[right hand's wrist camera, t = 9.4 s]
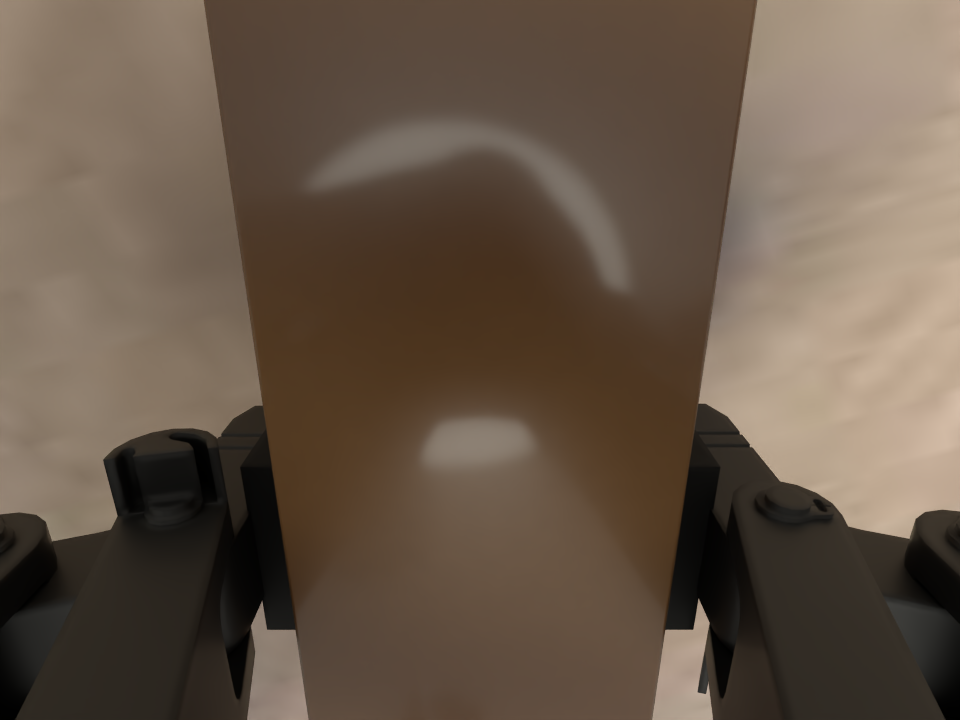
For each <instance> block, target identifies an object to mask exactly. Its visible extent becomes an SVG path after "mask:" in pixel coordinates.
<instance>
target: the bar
mask: <svg viewBox="0 0 960 720" xmlns="http://www.w3.org/2000/svg"><path fill="white" fill-rule="evenodd" d="M204 4H205V11H206V18H207V25H208V32H209V39H210V46H211V52H212V59H213V66H214V73H215V80H216V87H217V94H218V100H219V107H220V114H221V121H222V128H223V135H224V142H225V148H226V155H227V162H228V169H229V176H230V183H231V190H232V197H233V203H234V210H235V217H236V224H237V231H238V238H239V245H240V251H241V258H242V265H243V272H244V279H245V286H246V293H247V299H248V306H249V313H250V320H251V327H252V334H253V341H254V347H255V354H256V361H257V368H258V375H259V382H260V389H261V395H262V402H263V409H264V416H265V423H266V430H267V437H268V444H269V450H270V457H271V464H272V471H273V478H274V485H275V492H276V498H277V505H278V512H279V519H280V526H281V533H282V540H283V546H284V553H285V560H286V567H287V574H288V581H289V588H290V594H291V601H292V608H293V615H294V622H295V629H296V636H297V642H298V649H299V656H300V663H301V670H302V677H303V684H304V691H305V697H306V704H307V711H308V718H309V720H652V716H653V709H654V703H655V696H656V689H657V682H658V675H659V668H660V662H661V655H662V648H663V641H664V634H665V627H666V621H667V614H668V607H669V600H670V593H671V586H672V580H673V573H674V566H675V559H676V552H677V545H678V538H679V532H680V525H681V518H682V511H683V504H684V497H685V491H686V484H687V477H688V470H689V463H690V456H691V450H692V443H693V436H694V429H695V422H696V415H697V409H698V402H699V395H700V388H701V381H702V374H703V368H704V361H705V354H706V347H707V340H708V333H709V327H710V320H711V313H712V306H713V299H714V292H715V286H716V279H717V272H718V265H719V258H720V251H721V245H722V238H723V231H724V224H725V217H726V210H727V204H728V197H729V190H730V183H731V176H732V169H733V163H734V156H735V149H736V142H737V135H738V128H739V122H740V115H741V108H742V101H743V94H744V87H745V81H746V74H747V67H748V60H749V53H750V46H751V40H752V33H753V26H754V19H755V12H756V5H757V0H204Z"/></svg>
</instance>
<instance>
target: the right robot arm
mask: <svg viewBox="0 0 960 720" xmlns="http://www.w3.org/2000/svg"><path fill="white" fill-rule="evenodd" d="M103 461H104V465H105V469H106V473H107V477H108V480H109V484H110V488H111V492H112V496H113V500H114V503H115V507H116V511H117V515H118V517H117V519H116V521H115V523H114V525H113V527H112V529H111V530H108V531H104V532H100V533H95V534H90V535H84V536H79V537H74V538H69V539H63V540H58V541H53V542H52V540H51V537H50V534H49V531H48V528H47V525H46V522H45V521H44V520H42V519H41V518H40V517H38V516H37V515H33V514H26V513H11V514H1V515H0V720H247V715H248V707H249V699H250V690H251V682H252V674H253V666H254V658H255V648H254V641H253V636H252V630H251V624H252V622H253V620H254V618H255V615H256V613H257V611H258V609H259V606H260V604H261V602H262V601H263V607H264V613H265V619H266V625H267V630H296V629H295V622H294V615H293V608H292V601H291V594H290V588H289V581H288V574H287V567H286V560H285V553H284V546H283V540H282V533H281V526H280V519H279V512H278V505H277V498H276V492H275V485H274V478H273V471H272V464H271V457H270V450H269V444H268V437H267V430H266V423H265V416H264V409H263V406H254V407H252V408H251V409H249V410H247V411H246V412H244V413H242V414H241V415H239V416H237V417H236V418H234V419H233V420H232V421H231V423H230V424H229V425H228V426H227V428H226V429H225V430H224V431H223V432H222V434H221V437H218V439H217V438H216V437H215V436H213V435H212V434H210V433H209V432H207V431H202V430H197V429H170V430H164V431H159V432H153V433H149V434H147V435H144V436H141V437H138V438H135V439H132V440H130V441H128V442H126V443H124V444H122V445H121V446H119V447H117V448H115V449H114V450H113V451H112V452H111V453H110V454H108V455H107V456H106V457H105V458H104V459H103ZM698 598H699V600H700V602H701V604H702V607H703V609H704V611H705V613H706V615H707V618H708V620H709V622H710V625H709V630H708V636H707V641H706V647H705V652H704V658H703V663H702V669H701V674H700V680H699V687H698V692H699V693H704V694H706V691H707V686H708V681H709V689H710V697H711V705H712V713H713V720H960V512H959V511H949V510H937V511H930V512H925V513H923V514H922V515H921V516H919V517H918V518H917V519H916V520H915V523H914V527H913V530H912V533H911V536H910V539H907V538H901V537H896V536H891V535H886V534H880V533H875V532H870V531H864V530H860V529H856V528H852V527H848V526H847V524H846V522H845V520H844V518H843V516H842V514H841V513H840V512H839V511H838V510H837V508H836V507H835V506H834V505H833V504H832V503H831V502H829V501H828V500H826V499H825V498H823V497H822V496H820V495H819V494H817V493H815V492H813V491H810V490H808V489H805V488H803V487H800V486H798V485H794V484H789V483H785V482H780V481H779V480H778V478H777V477H776V476H775V475H774V473H773V472H772V471H771V470H770V469H769V467H768V466H767V465H766V464H765V462H764V461H763V460H762V459H761V458H760V456H759V455H758V454H757V453H756V451H755V450H754V449H753V448H752V447H750V444H749V443H748V442H747V440H746V439H745V438H744V437H743V435H740V434H739V430H738V429H737V428H736V427H735V426H734V424H733V423H732V422H731V421H730V419H729V418H728V417H727V416H725V415H724V414H722V413H720V412H719V411H717V410H715V409H713V408H712V407H710V406H708V405H707V404H698V409H697V415H696V422H695V429H694V436H693V443H692V450H691V456H690V463H689V470H688V477H687V484H686V491H685V497H684V504H683V511H682V518H681V525H680V532H679V538H678V545H677V552H676V559H675V566H674V573H673V580H672V586H671V593H670V600H669V607H668V614H667V621H666V627H665V630H693V628H694V622H695V616H696V610H697V604H698Z"/></svg>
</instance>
